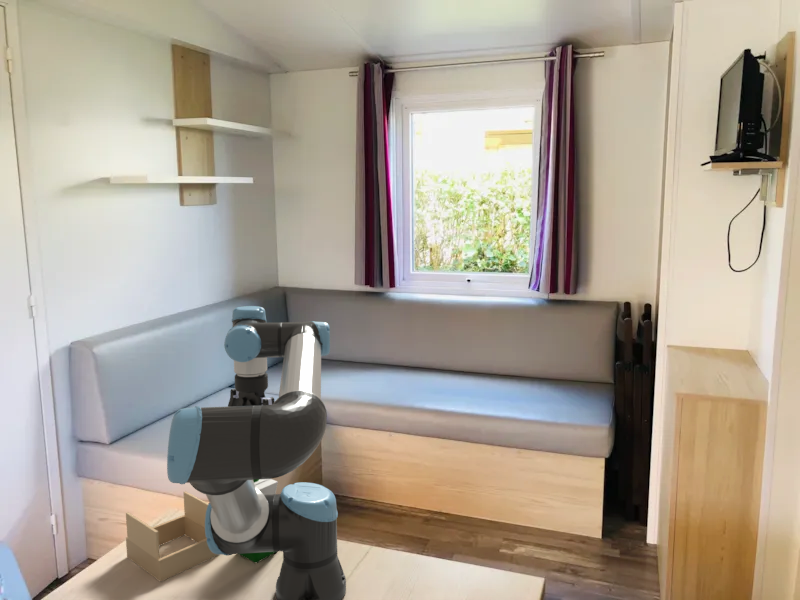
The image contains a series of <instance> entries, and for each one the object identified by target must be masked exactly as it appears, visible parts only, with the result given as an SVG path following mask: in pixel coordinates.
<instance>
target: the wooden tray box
mask: <svg viewBox="0 0 800 600" xmlns="http://www.w3.org/2000/svg"><path fill="white" fill-rule="evenodd" d="M209 503H210V502H209ZM209 503H208V502H207V501H205V500H202V499H201V498H199V497H197V496H195V495H194V494H192V493H190V492H188V491H186V490H185V491H183V507H184V509H183V510H184V511H183V512H184V514H182V515H180V516H178V517H175V518H172V519H170V520H167V521H164V522H163V523H160V524H157V525H154V526H151V525H149V524H147V523H146V522H144V521H143V520H141V519H140V518H138V517H137V516H135V515H133V514H132V513H131V512H129V511H127V512H125V520H126V524H125V525H126V535H127V536H126V537H125V542H126V543H125V545H126V547H125V548H126V558H127V559H129V560H130V561H132V562H133V563H134V564H135V565H137V566H139V567H140V568H141V569H142V570H144V571H145V572H147V573H148V574H149V575H151V576H152V577H153V578H154V579H156V580H157V581H159V582H163V581H165V580H167V579H170V578H172V577H174V576H176V575H179V574H180V573H183V572H185V571H187V570H189V569H192V568H193V567H196V566H198V565H200V564H202V563H204V562H206V561H209V560H211V559H213V558H215V557H217V556H220V554H214V553H213V552H211V550H210V549H209V547H208V545H207V537H206V535H205V516H206V510H207V507H208V504H209ZM183 536H186V537H187V538H189V537H190V538H189V539H191V540H192V539H193V540H192V541H194V540H195V541H194V542H195V543H193V544H191V545H188V546H186V547H183V548H181V549H179V550H176V551H175V552H172V553H169V554H168V555H165V556H163V557H160V556H161V555H160V553H161V552H160V546H161V544H162V545H164V544H167V543H168V542H171V541H174V540H177V539H178V538H181V537H183ZM173 539H174V540H173ZM166 542H167V543H166ZM163 543H164V544H163ZM159 545H160V546H159Z"/></svg>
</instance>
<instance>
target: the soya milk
mask: <svg viewBox="0 0 800 600" xmlns="http://www.w3.org/2000/svg"><path fill="white" fill-rule="evenodd" d="M253 481H254V485H255V488H257V489H258V490H260V491H261V492H262V493H263V494H264V495H267V494H277V488H278V480H275V479H273V478H271V479H256V480H253ZM275 553H276V552H259V553H244V554H238V555H239V556H241V557H243V558H244V559H245V558H246V559H247V560H249V561H251V562H252V563H255V564H257V563H259V562H261V561H263V560H264V559H267V558H268V557H270V556H272V555H274V554H275Z"/></svg>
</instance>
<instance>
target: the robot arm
mask: <svg viewBox="0 0 800 600" xmlns="http://www.w3.org/2000/svg"><path fill="white" fill-rule="evenodd" d="M231 323H232V327H231V328H230V329H229V330H228V331H227V333H226V334H225V335H226V336H225V339H224V345H223V347H224V351H225V353H226V354H227V356H228V357H229V358H230V359H232V360H233V372H234V374H235V375H234V388H232V389H230V391H229V392H230V394H229V396H230V398H229V400H228V404H227V406H212V407H211V406H210V407H201V406H200V405H197V406H194V407H186V408H180V409H178V410H176V411H175V412H174V414H173V416H172V418H171V422H170V423H171V424H170V429H169V434H168V435H169V436H168V445H167V455H166V457H167V458H166V460H167V461H166V471H167V472H166V474H167V479H168V481H169V482H171V484H179V485H185V484H189V485H191V486H192V488H193V489H195V490H196V491H197V492H199V493H201V494H203V495H205V496H206V498H207V500H208V502H209V504H208V507H207V510H206V516H205V535H206V537H207V545H208V547H209V549H210V550H211V552H213V553H214V554H219V555H221V556H222V555H224V556H233V555H239V554H244V553H259V552H275V553H277V552H282V558H283V560H282V563H281V567H280V571H279V575H278V577H277V579H276V583H275V597H276V600H343V598H344V597H345V594H346V592H347V579H346V575H345V573H344V569H343V568H342V564H341V561H340V558H339V556H338V526H337V525H338V523H337V522H338V521H337V520H338V519H337V518H338V515H339V513H338V509H337V498H336V496H335V494H334V493H333V491H332V490H330V489H329V488H327V487H326V486H324V485H322V484H319V483H314V482H305V481H304V482H303V481H302V482H301V481H300V482H294V483H293V484H292V483H291V484H290V483H289V484H287V485H286V486H284V487H283V488H282V489H281V492H280V493H276V494H267V495H264V494H263V493H262V492H261V491H260V490H258V489H257V488H255V485H254V481H253V480H256V479H276V478H280V477H283V476H285V475H288V474H289V473H291V472H293V471H294V470H296V469H297V468H298V467H300V466H301V465H303V464H304V463H305V462H306V461H307V460H308V459H309V458H310V457H311V456H312V455H313V454H314V452H315V451H316V449H317V448H318V447H319V445H320V444H321V442H322V440H323V438H324V436H325V433H326V428H327V424H328V423H327V418H328V415H327V407H326V406H325V403H324V402H323V400H322V357H326V356H328V355H330V352H331V334H330V333H331V330H330V329H331V328H330V324H329V323H328V322H325V321H314V320H311V321H291V322H290V321H287V322H286V321H285V322H283V321H282V322H268V321H267V317H266V310H265V308H264V307H262V306H258V305H248V306H246V305H245V306H244V305H243V306H238V307H235V308H234V309H233V310H232V319H231ZM268 358H283V363H282V369H281V378H280V385H279V393H278V398H277V399H275V397H274V396H271V397H266V395H265V394H266V393H265V391H266V390H267V389H268V387H269V380H268V379H269V376H268V373H267V371H268Z"/></svg>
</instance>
